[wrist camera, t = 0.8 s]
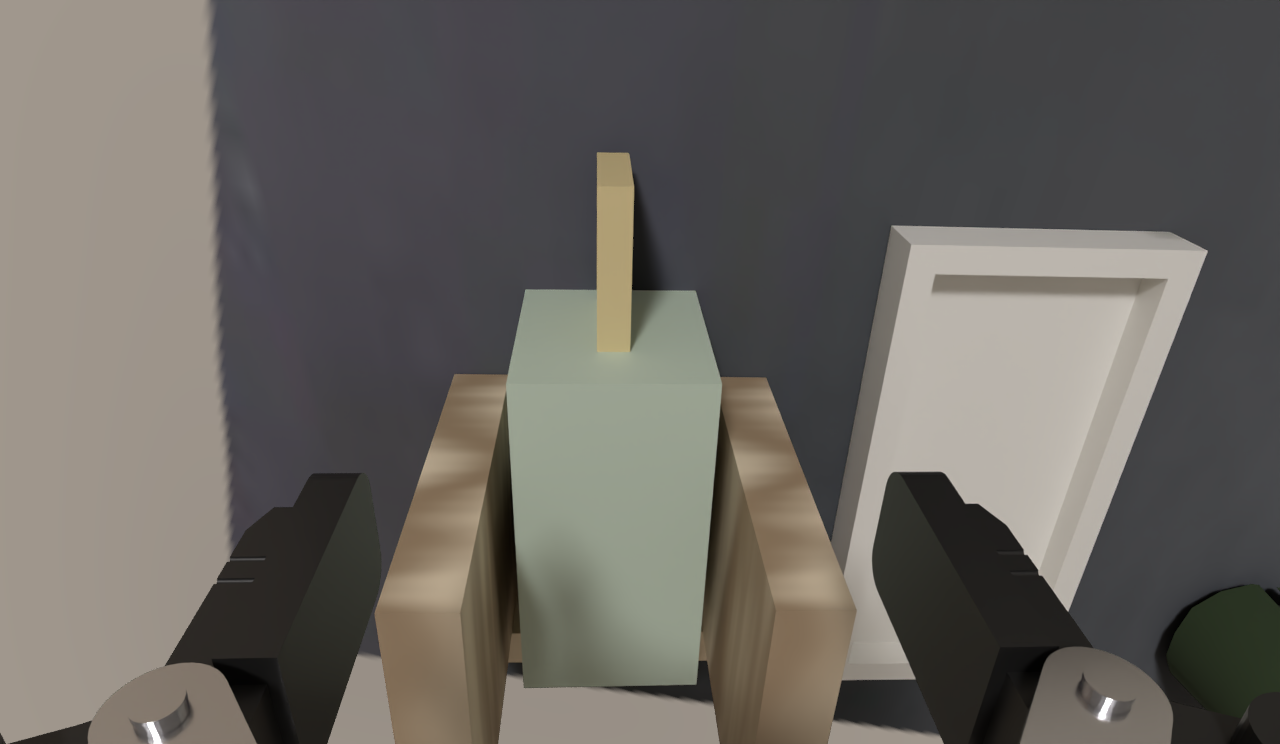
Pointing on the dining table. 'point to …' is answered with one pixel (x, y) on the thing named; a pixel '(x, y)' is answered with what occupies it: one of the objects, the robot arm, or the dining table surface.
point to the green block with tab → (612, 468)
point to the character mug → (1229, 650)
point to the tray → (1006, 391)
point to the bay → (733, 597)
